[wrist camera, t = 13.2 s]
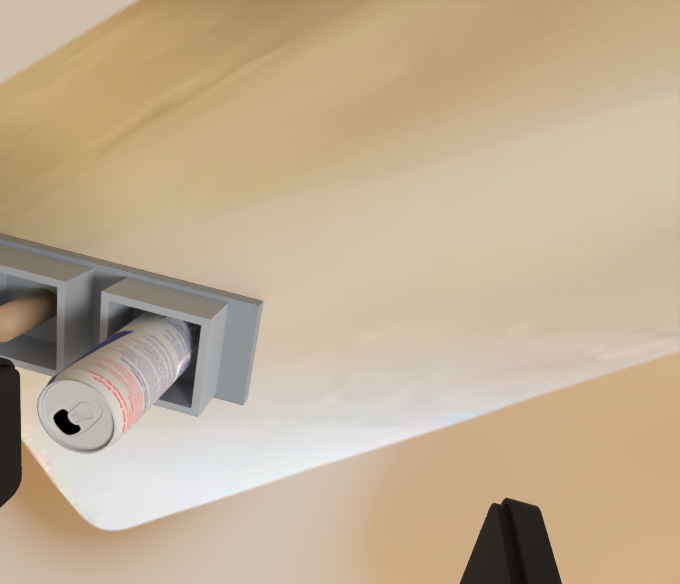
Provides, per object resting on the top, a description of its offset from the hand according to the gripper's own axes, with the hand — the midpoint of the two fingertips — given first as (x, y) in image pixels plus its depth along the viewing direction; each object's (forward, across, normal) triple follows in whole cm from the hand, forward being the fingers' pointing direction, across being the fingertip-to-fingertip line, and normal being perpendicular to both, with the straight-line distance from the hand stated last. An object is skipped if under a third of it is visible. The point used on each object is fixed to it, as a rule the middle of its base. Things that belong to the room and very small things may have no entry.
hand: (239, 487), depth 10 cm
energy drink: (+28, +14, +13) cm, 33 cm away
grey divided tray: (+28, +19, +13) cm, 36 cm away
